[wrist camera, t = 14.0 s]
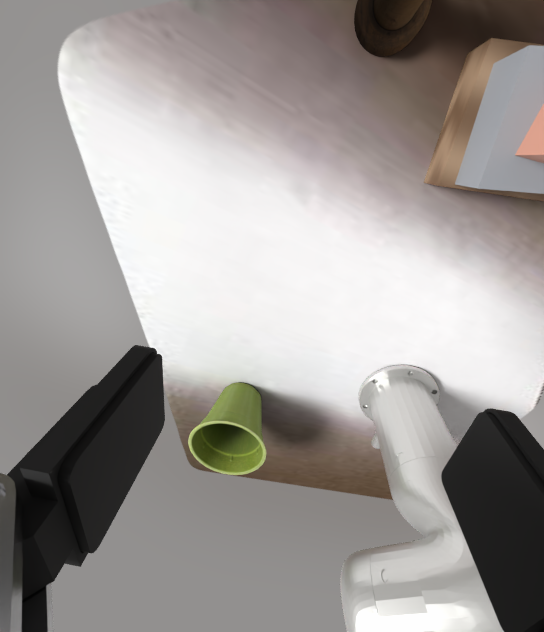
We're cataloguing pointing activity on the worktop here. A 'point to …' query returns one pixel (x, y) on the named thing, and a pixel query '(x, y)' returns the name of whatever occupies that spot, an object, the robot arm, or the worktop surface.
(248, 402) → the plant pot
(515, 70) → the upper block
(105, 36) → the worktop surface
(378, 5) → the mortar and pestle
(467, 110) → the lower block
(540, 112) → the pink cube
